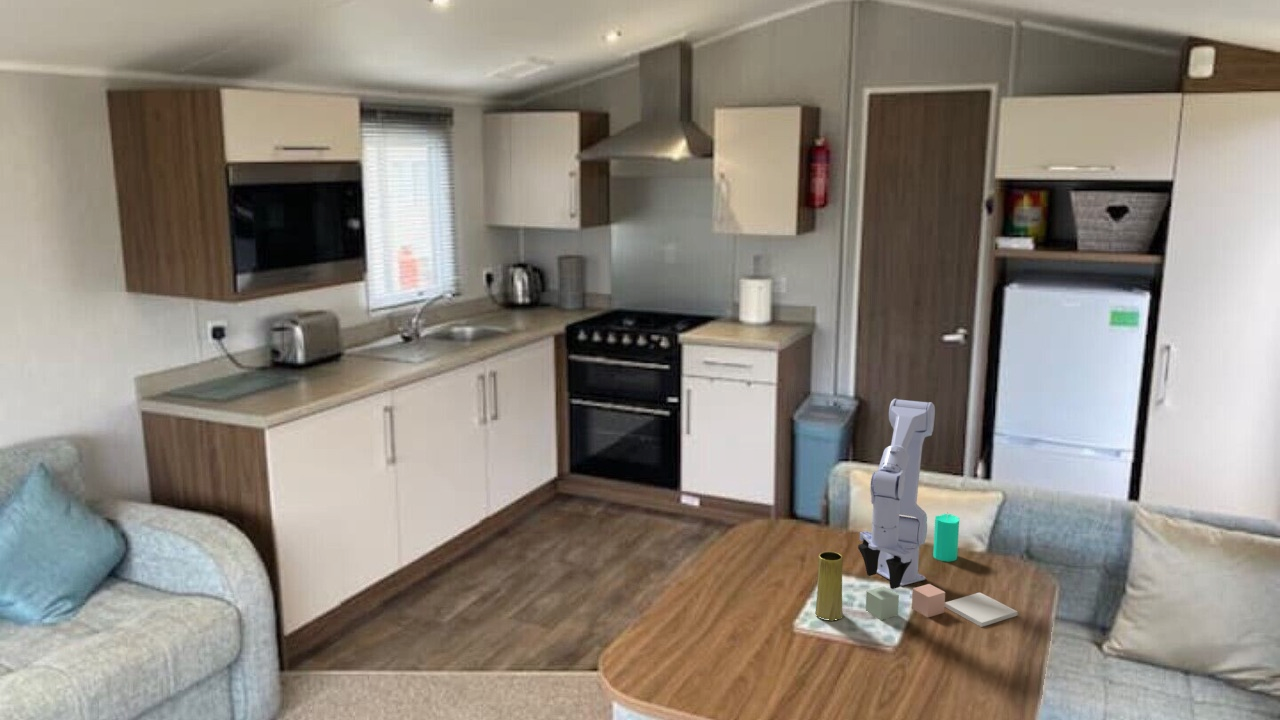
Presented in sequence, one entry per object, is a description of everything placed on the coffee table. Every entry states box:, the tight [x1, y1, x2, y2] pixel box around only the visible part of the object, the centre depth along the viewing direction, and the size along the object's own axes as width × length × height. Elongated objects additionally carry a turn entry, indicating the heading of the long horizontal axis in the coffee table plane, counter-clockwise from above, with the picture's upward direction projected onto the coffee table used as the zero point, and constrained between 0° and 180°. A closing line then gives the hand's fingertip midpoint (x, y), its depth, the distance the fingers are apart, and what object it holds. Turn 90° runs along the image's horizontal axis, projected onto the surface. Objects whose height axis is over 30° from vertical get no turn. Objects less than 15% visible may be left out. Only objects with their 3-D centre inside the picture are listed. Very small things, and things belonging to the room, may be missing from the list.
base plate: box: [945, 592, 1018, 628], centre depth 217 cm, size 11×11×1 cm
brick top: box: [911, 583, 946, 618], centre depth 217 cm, size 5×5×5 cm
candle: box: [932, 512, 960, 562], centre depth 245 cm, size 6×6×12 cm
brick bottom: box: [865, 586, 900, 621], centre depth 216 cm, size 5×5×5 cm
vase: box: [814, 550, 844, 620], centre depth 215 cm, size 6×6×14 cm
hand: (883, 581), depth 215 cm, fingers open, 7 cm apart
